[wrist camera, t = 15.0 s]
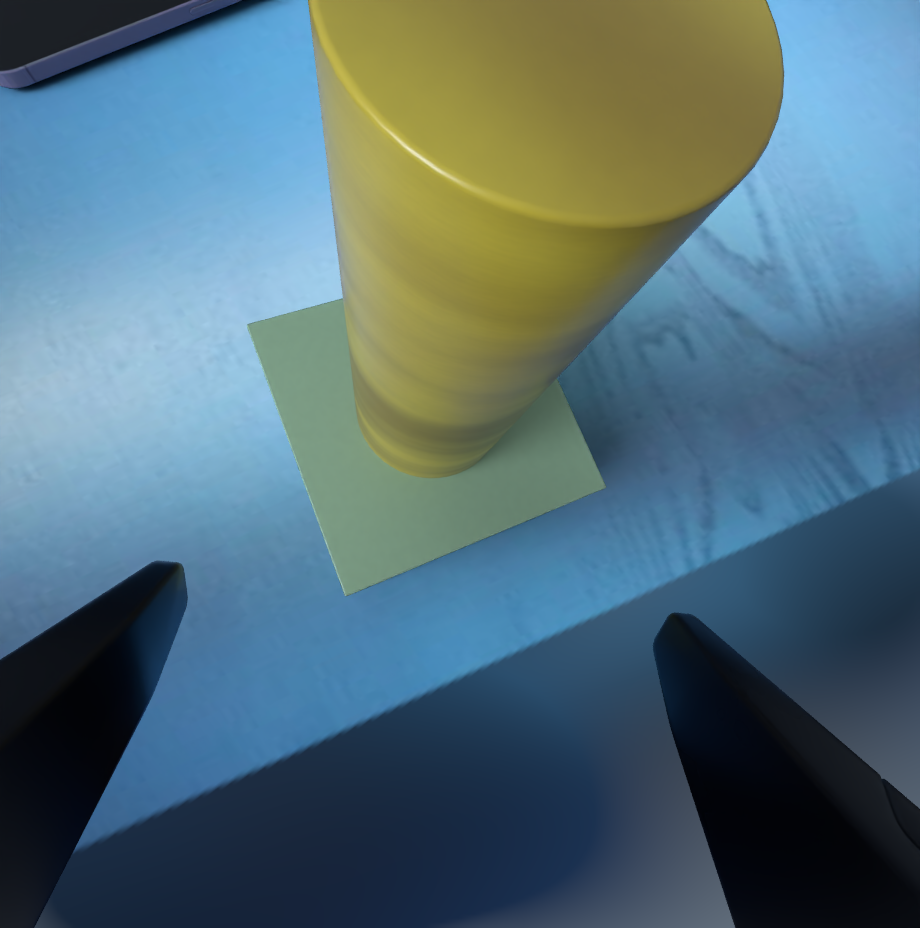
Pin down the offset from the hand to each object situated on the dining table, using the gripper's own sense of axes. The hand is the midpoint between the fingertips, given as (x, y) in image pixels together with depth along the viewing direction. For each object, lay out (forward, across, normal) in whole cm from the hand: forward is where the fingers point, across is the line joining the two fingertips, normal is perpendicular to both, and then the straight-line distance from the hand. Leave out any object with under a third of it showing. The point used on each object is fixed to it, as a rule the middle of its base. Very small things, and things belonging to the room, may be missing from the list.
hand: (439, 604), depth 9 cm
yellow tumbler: (+10, 0, +1) cm, 10 cm away
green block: (+13, 0, +4) cm, 14 cm away
